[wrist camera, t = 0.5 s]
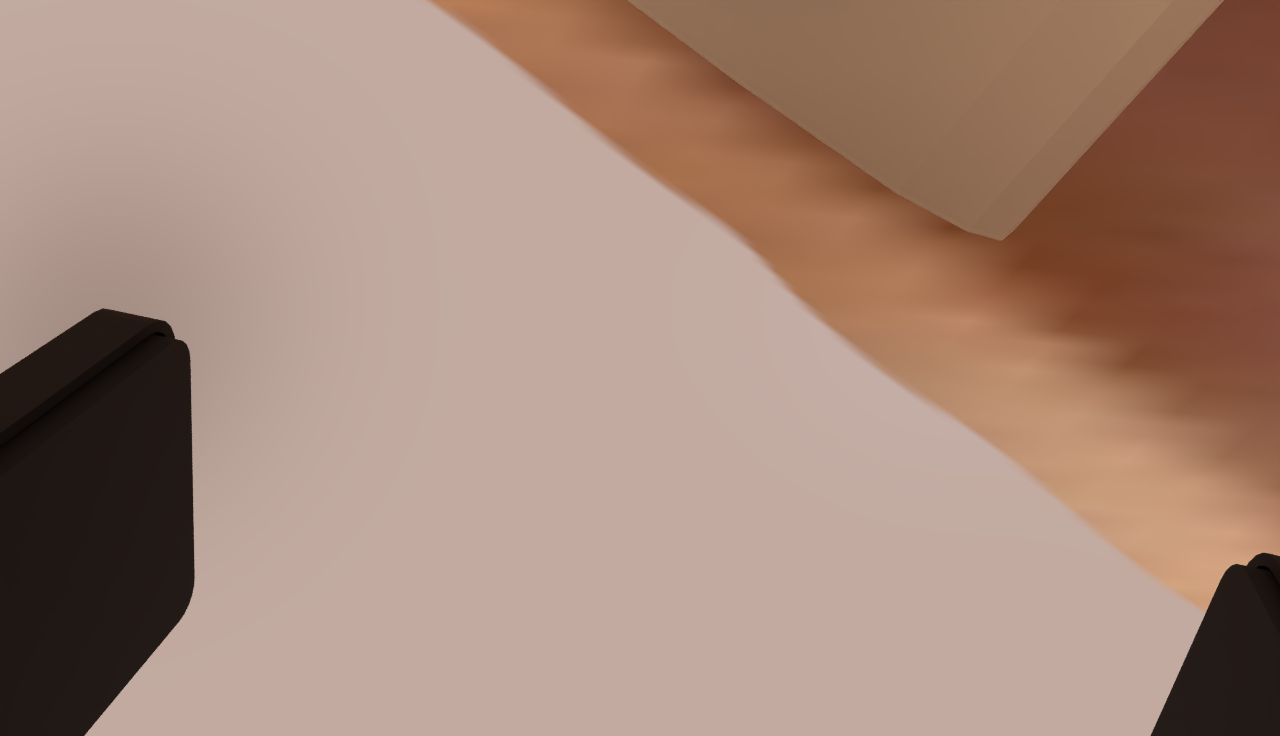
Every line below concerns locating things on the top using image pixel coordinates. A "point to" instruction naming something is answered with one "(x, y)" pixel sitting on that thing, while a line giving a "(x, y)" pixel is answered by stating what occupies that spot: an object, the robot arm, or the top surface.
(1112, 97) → the alarm clock
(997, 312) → the top surface
